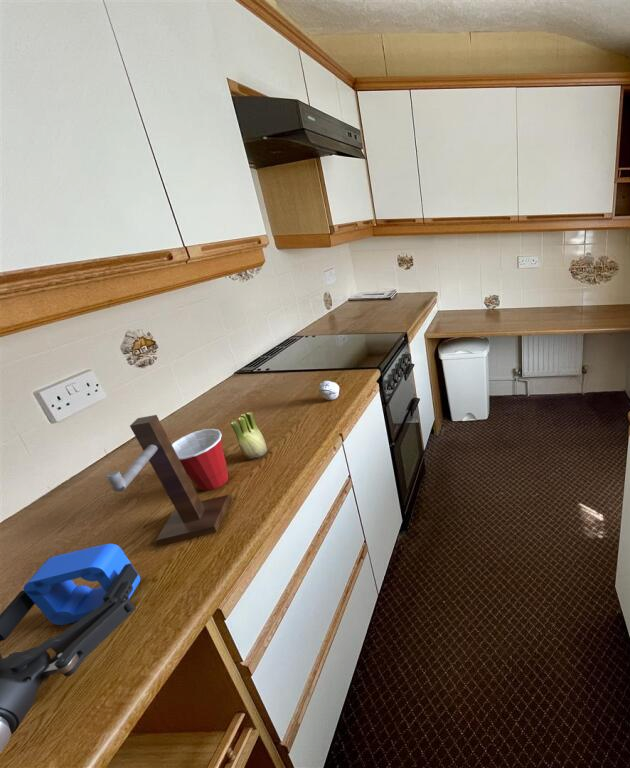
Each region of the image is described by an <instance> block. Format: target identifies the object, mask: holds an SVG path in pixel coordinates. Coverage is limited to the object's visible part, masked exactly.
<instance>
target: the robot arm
mask: <svg viewBox="0 0 630 768" xmlns="http://www.w3.org/2000/svg"><path fill="white" fill-rule="evenodd" d="M131 564H132V562H130V564H126V565H125V566H124V567H123V569H122V570H121V572H120V573H119V575H118V576H117V578H116V579H115V581H114V582H113V584H112V585H111V587H110V589H109V590H108V592H107V593H106V595H105V596H104V598H103V600H104V601H105V602H104V603H103V604H102V605H100V606H99V607H97V608H96V609H95V610H93V611H92V612H90V613H89V614H88V615H86V616H85V617H83V618H82V619H81V620H79V621H77V622H74V624H72V625H71V626H69V627H68V628H67V629H65V630H64V631H62V632H61V633H60V634H59V635H57V636H55V637H49V638H48V639H46V640H44V641H43V642H42V643H40V644H39V645H38V646H34V647H31V648H28V649H26V650H23V651H17V652H16V651H15V652H13V653H9V654H8V656H6V657H4V658H3V656H2V653H0V754H1V753H2V752H3V750H4V749H5V748H6V746H7V745H8V744H9V741H10V740H11V736H12V735H13V734H14V733H15V732H17V730H18V728H19V727H20V725H21V724H22V722H23V721H24V719H25V718H26V717H27V715H28V713H29V711H30V710H31V709H32V707H33V706H34V703H35V702H36V698H37V693H38V691H39V688H40V686H42V684H43V683H44V682H46V680H47V679H48V678H50V677H51V676H53V675H54V676H55V675H58V674H62V675H63V676H64V677H66V678H67V677H70V676H72V675H73V674H75V673H76V671H78V669H79V667H80V666H81V665H82V663H83V662H84V660H85V659H86V658H87V657H88V656H89V655H90V654H91V653H92V652H93V651H94V650H95V649H97V648H98V647H99V646H100V645H101V643H103V642H104V641H105V640H106V639H107V638H108V637H109V636H110V635H111V634H112V633H113V632H115V630H116V629H117V628H118V627H119V626H120V625H122V623H123V622H125V620H127V619H128V618H129V616H131V615H132V614H133V613H134V612H135V611H136V609H137V608H136V606H135V604H134V603H133V601H132V600H131V598H130V599H129V595H130V593H131V592H132V590H133V586H132V584H133V583H134V581H135V579H136V578H137V576H138V575H139V573H138V571H137V570H136V569H135V567H134V566H133V564H132V565H131ZM133 567H134V568H133ZM135 570H136V571H135ZM137 573H138V574H137ZM34 605H36V604H35V603H34V602H33V601H32V599H31V598H30V597H29V596H28V595H27V594H26V593H25V591H24V589H23V590H20V592H18V594H17V595H16V596H15V597H14V598H13V600H12V601H11V602H10V603H9V604H8V605H7V607H5V608H4V610H2V612H1V613H0V642H1V641H5V640H7V638H8V637H10V635H11V634H12V632H14V630H15V628H16V627H18V625H19V624H20V622H22V620H23V619H24V618H25V616H26V615H27V614H28V613H29V612H30V611H31V609H32V608H33V607H34ZM109 608H110V609H109ZM108 609H109V610H108ZM50 649H52V651H54V653H55V655H54V656H52V657H51V655H50V653H48V650H50Z"/></svg>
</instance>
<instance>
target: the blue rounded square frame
mask: <svg viewBox="0 0 630 768" xmlns="http://www.w3.org/2000/svg"><path fill="white" fill-rule="evenodd" d="M130 563H131V561H130V560H129V558H128V557H127V555H126V553H125V552H124V550H123V549H122V548H121V547H120V546H119V545H117V544H114V543H104V544H101V545H96V546H92V547H88V548H87V547H86V548H83V549H79V550H76V551H75V550H74V551H71V552H67V553H63V554H59V555H55V556H51V557H49V558H47V559H46V560H45V561H44V563H43V564H42V565H41V566H40V567H39V568H38V569H37V571H36V572H35V573H34V574H33V575H32V576H31V577H30V579H29V580H27V582H26V583H25V584H24V585H23V590H24V591H25V593H26V594H27V595H28V596H29V597H30V598H31V599H32V601H33V602H34V603H35V604H34V605H36V607H37V608H38V609H39V610H40V611H41V613H42V614H43V615H44V616H45V617H46V618H47V619H48V621H50V623H52V624H54V625H55V626H56V625H57V626H65V625H68V624H72V623H77V622H78V621H79V620H81V619H82V618H83V617H85V616H86V615H88V614H89V613H90V612H92V611H93V610H95V609H96V608H97V607H99V606H100V605H102V604H103V603H104V602H105V601H104V600H103V598H104V596H105V595H106V593H107V592H108V590H109V589H110V587H111V585H112V584H113V582H114V581H115V579H116V578H117V576H118V575H119V573H120V572H121V570H122V569H123V567H124V566H125V565H126V564H130ZM131 565H132V566H133V564H132V563H131ZM133 568H134V569H135V567H134V566H133ZM135 571H136V572H137V570H136V569H135ZM137 574H138V576H137V578H136V579H135V581H134V583H133V584H132V586H133V590H132V592H131V593H130V595H129V599H130V600H131V597H132V595H134V592H135V590H136V589H137V587H138V585H139V584H140V582H141V576H140V575H139V573H138V572H137ZM79 578H81V579H82V580H84V581H87V582H97V583H99V585H100V587H99V586H98V587H96V588H91V587H90V586H88V585H87V586H86V585H76V584H75V583H74V581H73V580H76V579H79ZM109 609H110V608H109ZM109 609H108V610H109Z"/></svg>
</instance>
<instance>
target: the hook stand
mask: <svg viewBox="0 0 630 768" xmlns="http://www.w3.org/2000/svg"><path fill="white" fill-rule="evenodd" d="M129 428H130V429H131V431H132V433H133V435H134V436H135V438H136V440H137V442H138V443H139V446H140V447H141V449H142V452H141V453H140V454H139V455H138V457H136V459H135V460H134V461H133V462H132V463H131V464H130V466H129V467H128V468H127V469H126V470H125V471H124V472H123V474H121V472H120V471H119V470H114V471H110V472H109V473H107V474H106V475H105V478H106V480H107V481H108V483H109V484H110V485H111V488H112V490H113V491H114V492H116V493H121V492H123V491H126V489H127V488H128V486H129V485H130V484H131V483H132V481H134V479H135V478H136V476H137V475H138V474H139V473H140V472H141V471H142V469H143V468H144V467H145V466H146V465H147V464H148V462H149V463H150V465H151V467H152V469H153V471H154V472H155V475H156V476H157V478H158V480H159V482H160V483H161V485H162V488H163V489H164V490H165V492H166V494H167V496H168V498H169V500H170V501H171V503H172V505H173V507H174V509H173V512H172V513H171V515H170V516H169V518H168V520H167V521H166V522H165V524H164V525H163V528H162V529H161V531H160V533H159V534H158V536H157V538H156V539H155V542H156V544H157V545H158V546H159V547H160V546H164V545H168V544H172V543H177V542H180V541H184V540H189V539H193V538H196V537H202V536H205V535H209V534H212V533H216V532H218V530H219V528H220V525H221V523H222V521H223V518H224V516H225V514H226V512H227V509H228V508H229V505H230V503H231V497H230V495H229V494H226V495H222V496H221V495H220V496H218V497H213V498H209V499H204V500H201V499H200V497H199V495H198V493H197V491H196V488H195V487H194V485H193V483H192V480H191V479H190V477H189V476H188V475H187V473H186V471H185V469H184V467H183V466H182V464H181V462H180V460H179V458H178V456H177V454H176V452H175V450H174V448H173V446H172V442H171V439H169V436H168V435H167V433H166V431H165V428H164V427H163V424H162V423H161V421H160V419H159V417H158V415H157V414H153V415H148V416H142V417H141V416H140V417H137V418H136V419H135V420H134V421H133V422H132V423H131V424H130V425H129Z"/></svg>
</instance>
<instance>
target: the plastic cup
mask: <svg viewBox="0 0 630 768" xmlns="http://www.w3.org/2000/svg"><path fill="white" fill-rule="evenodd" d="M222 436H223V433H222V432H221V431H220V429H217V428H204V429H200V430H197V431H193V432H191V433H187V434H186V435H183V436H181V437H179V438H178V439H176V440H175V441H173V442H171V444H172V446H173V448H174V450H175V452H176V454H177V456H178V458H179V460H180V462H181V464H182V466H183V467H184V469H185V471H186V473H187V475H188V477H189V479H190V481H193V483H194V484H195V485H196V486H197V487H198V489H199V490H201V491H204V492H207V491H213V490H216V489H218V488H221V487H222V486H223V485H225V484H226V483H227V482H228V479H229V474H228V468H227V461H226V458H225V453H224V449H223V443H222V442H223V441H222Z"/></svg>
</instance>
